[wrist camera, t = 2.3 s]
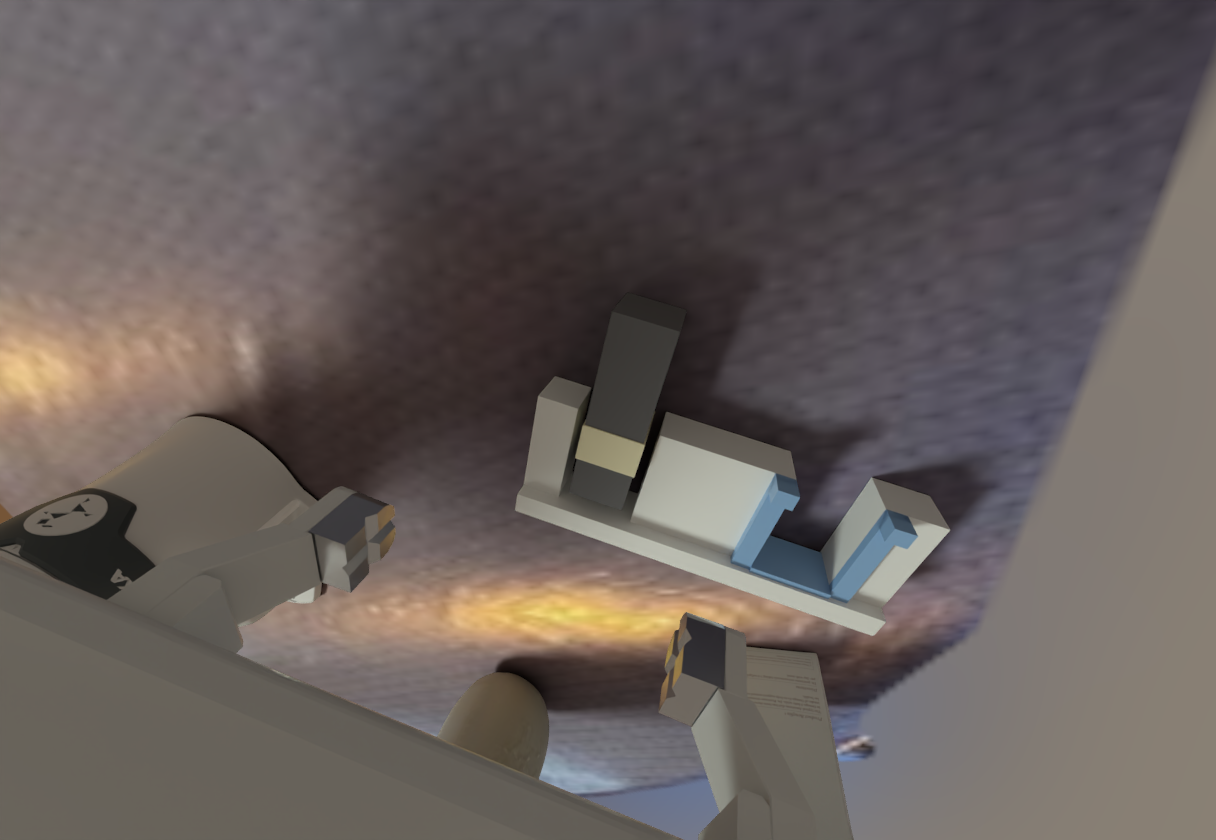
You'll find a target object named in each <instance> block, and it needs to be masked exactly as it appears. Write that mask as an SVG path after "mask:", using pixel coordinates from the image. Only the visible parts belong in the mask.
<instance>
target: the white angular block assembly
mask: <svg viewBox="0 0 1216 840" xmlns="http://www.w3.org/2000/svg"><path fill="white" fill-rule="evenodd" d="M590 392H591V387H588V386H585V385H582V384H579V383H575V382H572V381H569V380H566V379H563V378H560V377H557V376H555V377H554V378H553V379H552V380H551V381H550V383H549V384H548V385H547V386H546V387H545V388H544V390H543V391H542V392H541V393H540V394H539V395H538V400H537V406H536V412H535V418H534V424H533V430H532V437H531V443H530V449H529V455H528V461H527V467H526V473H525V479H524V485H523V486H522V488H521V490H520V491H519V493H518V494H517V501H516V507H515V511H518V512H520V513H523V514H526V515H529V516H532V517H535V518H537V519H540V520H543V521H546V522H549V523H552V524H555V525H557V526H560V527H563V528H566V529H569V530H572V531H575V532H577V533H580V534H583V535H586V536H589V537H592V538H594V539H597V540H600V541H603V542H606V543H609V544H612V545H614V546H617V547H620V548H623V549H626V550H629V551H632V552H634V553H637V554H640V555H643V556H646V557H649V558H651V559H654V560H657V561H660V562H663V563H666V564H669V565H671V566H674V567H677V568H680V569H683V570H686V571H689V572H691V573H694V574H697V575H700V576H703V577H706V578H709V579H711V580H714V581H717V582H720V583H723V584H726V585H728V586H731V587H734V588H737V589H740V590H743V591H746V592H748V593H751V594H754V595H757V596H760V597H763V598H766V599H768V600H771V601H774V602H777V603H780V604H783V605H785V606H788V607H791V608H794V609H797V610H800V611H803V612H805V613H808V614H811V615H814V616H817V617H820V618H823V619H825V620H828V621H831V622H834V623H837V624H840V625H842V626H845V627H848V628H851V629H854V630H857V631H860V632H862V633H865V634H868V635H871V636H874V635H875V634H876V633H877V631H878V630H879V629H880V628H881V627H882V626H883V625H884V624H885V623H886V620H885V617H884V614H883V611H882V607H883V606H884V605H885V604H886V603H887V601H888V600H889V599H890V598H891V597H892V596H893V595H894V594H895V592H896V591H897V590H898V589H899V588H900V587H901V586H902V584H903V583H904V582H905V581H906V580H907V579H908V578H909V576H910V575H911V574H912V573H913V572H914V571H915V570H916V569H917V567H918V566H919V565H920V564H921V563H922V562H923V561H924V559H925V558H926V557H927V556H928V555H929V554H930V553H931V552H932V550H933V549H934V548H935V547H936V546H937V545H938V544H939V542H940V541H941V540H942V539H943V538H944V537H945V536H946V535H947V533H948V532H949V531H950V528H949V527H948V525H947V523H946V522H945V520H944V518H943V517H942V515H941V513H940V512H939V510H938V509H937V507H936V505H935V504H934V502H933V500H932V499H931V497H930V496H928V495H925V494H922V493H919V492H916V491H913V490H910V489H907V488H903V487H900V486H897V485H894V484H891V483H888V482H885V481H882V480H878V479H875V478H871V479H870V480H869V482H868V483H867V485H866V486H865V488H864V489H863V491H862V492H861V493H860V495H859V496H858V498H857V499H856V501H855V502H854V504H853V505H852V506H851V508H850V509H849V511H848V512H847V514H846V515H845V517H844V518H843V519H842V521H841V522H840V524H839V525H838V527H837V528H836V530H835V531H834V532H833V534H832V535H831V537H830V538H829V540H828V541H827V543H826V544H825V545H824V547H823V548H822V550H821V551H820V552H818V551H815V550H812V549H809V548H806V547H803V546H800V545H797V544H794V543H791V542H788V541H785V540H782V539H779V538H776V537H773V536H770V533H771V531H772V530H773V528H774V526H775V525H776V523H777V521H778V520H779V518H780V516H781V514H782V513H783V511H784V509H787V510H790V511H793V509H794V507H795V506H796V504H797V502H798V501H799V499H800V494H799V489H798V484H797V479H796V474H795V470H794V465H793V460H792V455H791V451H788V450H785V449H782V448H778V447H775V446H772V445H769V444H766V443H763V442H760V441H757V440H753V439H750V438H747V437H744V436H741V435H738V434H735V433H732V432H728V431H725V430H722V429H719V428H716V427H713V426H710V425H707V424H703V423H700V422H697V421H694V420H691V419H688V418H685V417H682V416H678V415H675V414H672V413H669V412H666V414H665V417H664V420H663V423H662V425H661V428H660V431H659V434H658V437H657V440H656V443H655V446H654V449H653V452H652V454H651V457H650V460H649V463H648V466H647V469H646V472H645V475H644V478H643V481H642V483H641V486H640V489H639V492H638V493H635V492H632V491H629V490H628V493H627V496H626V499H625V502H624V505H623V508H622V510H619V509H616V508H613V507H610V506H607V505H604V504H601V503H598V502H595V501H592V500H589V499H586V498H583V497H581V496H578V495H575V494H572V493H569V490H570V486H571V481H572V477H573V473H574V472H573V471H572V469H573V465H574V461H575V456H576V452H577V448H578V443H579V439H580V435H581V431H582V426H583V422H584V418H585V414H586V409H587V405H588V401H589V397H590Z"/></svg>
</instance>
